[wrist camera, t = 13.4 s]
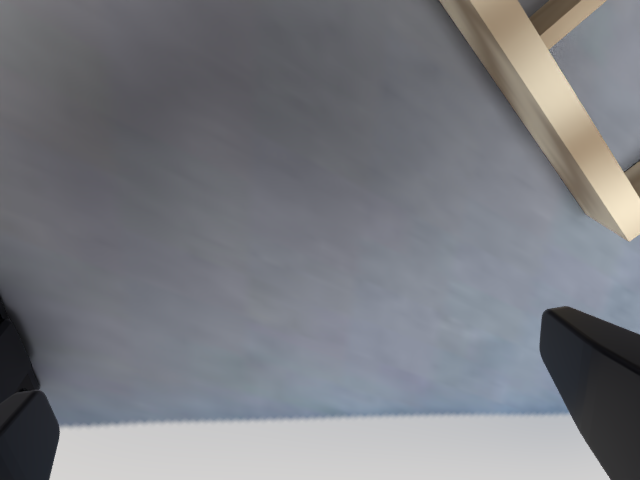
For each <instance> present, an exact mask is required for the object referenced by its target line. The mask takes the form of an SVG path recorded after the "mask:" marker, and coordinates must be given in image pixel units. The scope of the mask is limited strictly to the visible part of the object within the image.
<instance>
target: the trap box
mask: <svg viewBox="0 0 640 480" xmlns="http://www.w3.org/2000/svg"><path fill="white" fill-rule="evenodd" d="M439 1H440V2H441V4H442V5H443V7H444V8H445V10H446V11H447V13H448V14H449V16H450V17H451V19H452V20H453V21H454V23H455V24H456V26H457V27H458V29H459V30H460V32H461V33H462V35H463V36H464V37H465V39H466V40H467V42H468V43H469V45H470V46H471V48H472V49H473V51H474V52H475V53H476V55H477V56H478V58H479V59H480V61H481V62H482V64H483V65H484V67H485V68H486V69H487V71H488V72H489V74H490V75H491V77H492V78H493V80H494V81H495V83H496V84H497V86H498V87H499V88H500V90H501V91H502V93H503V94H504V96H505V97H506V99H507V100H508V102H509V103H510V104H511V106H512V107H513V109H514V110H515V112H516V113H517V115H518V116H519V118H520V119H521V120H522V122H523V123H524V125H525V126H526V128H527V129H528V131H529V132H530V134H531V135H532V136H533V138H534V139H535V141H536V142H537V144H538V145H539V147H540V148H541V150H542V151H543V153H544V154H545V155H546V157H547V158H548V160H549V161H550V163H551V164H552V166H553V167H554V169H555V170H556V171H557V173H558V174H559V176H560V177H561V179H562V180H563V182H564V183H565V185H566V186H567V187H568V189H569V190H570V192H571V193H572V195H573V196H574V198H575V199H576V201H577V202H578V203H579V205H580V206H581V208H582V209H583V211H584V212H585V214H586V215H587V216H589V217H590V218H592V219H594V220H595V221H597V222H598V223H600V224H602V225H603V226H605V227H606V228H608V229H609V230H611V231H613V232H614V233H616V234H617V235H619V236H621V237H622V238H624V239H625V240H627V241H629V242H630V241H631V240H632V239H634V238H635V237H636V236H638V235H639V234H640V161H639V162H637V163H636V164H635V165H634V166H632V167H631V168H630V169H628V170H627V171H626V172H623V170H622V169H621V167H620V166H619V164H618V162H617V161H616V159H615V157H614V156H613V154H612V153H611V151H610V149H609V148H608V146H607V144H606V143H605V141H604V140H603V138H602V136H601V135H600V133H599V131H598V130H597V128H596V127H595V125H594V123H593V122H592V120H591V119H590V117H589V115H588V114H587V112H586V110H585V109H584V107H583V106H582V104H581V102H580V101H579V99H578V97H577V96H576V94H575V93H574V91H573V89H572V88H571V86H570V84H569V83H568V81H567V80H566V78H565V76H564V75H563V73H562V71H561V70H560V68H559V67H558V65H557V63H556V62H555V60H554V58H553V57H552V55H551V54H550V52H549V49H550V48H551V47H552V46H554V45H555V44H556V43H557V42H558V41H560V40H561V39H562V38H563V37H564V36H565V35H567V34H568V33H569V32H570V31H571V30H572V29H574V28H575V27H576V26H577V25H578V24H580V23H581V22H582V21H583V20H584V19H585V18H587V17H588V16H589V15H590V14H591V13H592V12H594V11H595V10H596V9H597V8H598V7H600V6H601V5H602V4H603V3H604V2H605V1H607V0H439Z"/></svg>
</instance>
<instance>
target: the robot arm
mask: <svg viewBox="0 0 640 480" xmlns="http://www.w3.org/2000/svg"><path fill="white" fill-rule="evenodd" d="M540 354H541V357H542V360H543V362H544V364H545V366H546V368H547V369H548V371H549V373H550V375H551V377H552V379H553V381H554V383H555V385H556V387H557V389H558V391H559V393H560V395H561V397H562V399H563V401H564V403H565V405H566V407H567V409H568V410H569V412H570V414H571V416H572V418H573V420H574V422H575V424H576V426H577V428H578V429H579V431H580V433H581V434H582V436H583V438H584V439H585V441H586V443H587V444H588V445H589V447H590V449H591V450H592V452H593V453H594V455H595V456H596V458H597V459H598V461H599V462H600V464H601V466H602V467H603V469H604V470H605V472H606V473H607V475H608V476H609V478H610V479H611V480H640V335H639V334H637V333H634V332H632V331H629V330H627V329H624V328H622V327H619V326H617V325H614V324H612V323H609V322H606V321H604V320H601V319H599V318H596V317H594V316H591V315H589V314H586V313H584V312H581V311H579V310H576V309H573V308H571V307H567V306H564V307H557V308H551V309H547V310H545V311H544V312H543V315H542V321H541V333H540ZM31 367H32V364H31V362H30V360H29V357H28V355H27V353H26V351H25V348H24V346H23V344H22V342H21V339H20V337H19V335H18V333H17V330H16V328H15V326H14V324H13V322H12V321H11V320H9V317H8V315H7V313H6V311H5V308H4V306H3V304H2V302H1V299H0V480H49V478H50V473H51V469H52V465H53V461H54V457H55V453H56V449H57V445H58V440H59V434H60V431H59V424H58V421H57V419H56V417H55V415H54V413H53V411H52V408H51V406H50V404H49V402H48V400H47V397H46V396H45V394H44V393H43V392H42V391H41V390H39V389H40V388H39V384H38V382H37V380H36V378H35V375H34V373H33V371H32V369H31ZM23 388H26V389H28V390H29V391H26V390H24V389H23Z"/></svg>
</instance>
